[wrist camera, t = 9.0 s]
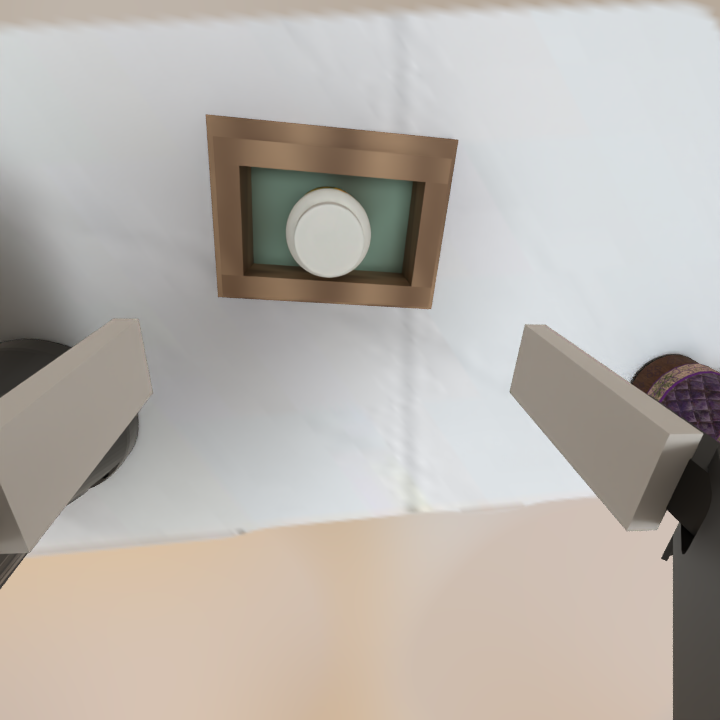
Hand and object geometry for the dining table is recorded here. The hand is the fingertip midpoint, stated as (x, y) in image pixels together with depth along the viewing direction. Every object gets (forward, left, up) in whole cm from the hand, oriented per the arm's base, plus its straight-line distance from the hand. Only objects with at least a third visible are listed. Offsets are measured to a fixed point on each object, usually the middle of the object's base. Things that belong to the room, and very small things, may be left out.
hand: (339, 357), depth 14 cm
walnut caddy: (0, +2, -21) cm, 21 cm away
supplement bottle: (0, +2, -20) cm, 20 cm away
